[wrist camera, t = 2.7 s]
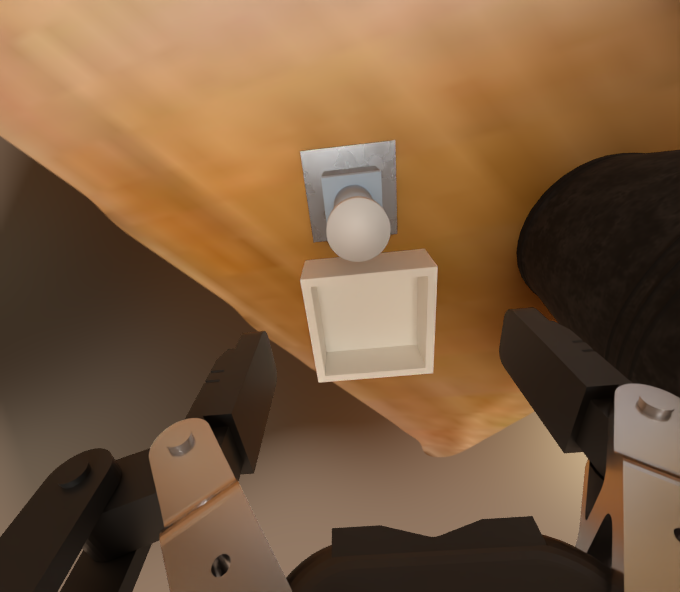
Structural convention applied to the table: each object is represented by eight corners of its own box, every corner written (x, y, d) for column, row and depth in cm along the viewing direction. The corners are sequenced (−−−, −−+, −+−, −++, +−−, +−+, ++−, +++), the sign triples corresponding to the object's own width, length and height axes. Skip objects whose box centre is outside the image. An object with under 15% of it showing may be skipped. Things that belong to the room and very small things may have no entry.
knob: (323, 171, 34) (314, 196, 21) (375, 165, 34) (396, 187, 21) (329, 222, 37) (324, 271, 24) (377, 217, 36) (398, 264, 24)
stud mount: (300, 150, 34) (295, 154, 30) (394, 140, 33) (402, 141, 29) (314, 240, 39) (311, 254, 34) (396, 231, 38) (403, 245, 34)
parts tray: (305, 260, 40) (300, 279, 35) (424, 248, 39) (437, 266, 34) (320, 354, 47) (318, 382, 42) (422, 346, 46) (433, 373, 41)
